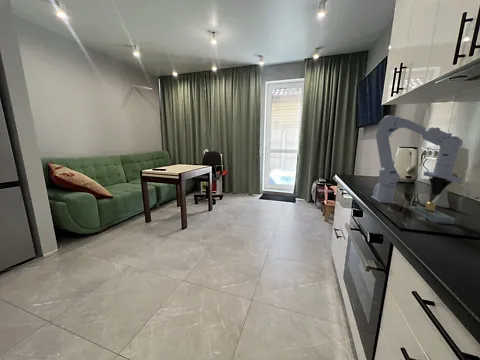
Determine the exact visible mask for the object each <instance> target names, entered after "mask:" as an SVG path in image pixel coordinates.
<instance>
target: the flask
mask: <svg viewBox="0 0 480 360" xmlns="http://www.w3.org/2000/svg"><path fill="white" fill-rule="evenodd" d="M449 190H450V187H449V186H446V187H445V188H444V189H443V191H442V192H441V193H440V195H436V196H435V198H434V199H432V201H431V202H433V203H436V206H435V207H440V208H448V209H449V208H450V205H449V198H448V191H449Z"/></svg>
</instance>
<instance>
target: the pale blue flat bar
mask: <svg viewBox="0 0 480 360" xmlns="http://www.w3.org/2000/svg"><path fill="white" fill-rule="evenodd" d="M406 209H407V210H409V211H411V212H414V213H416V214H418V215H419V216H422V217H423V218H425V219H428V220H430V221H431V222H434V223H436V224H437V223H440V224H448V225H449V224H451V225H454V222H455V219H456V218H455V217H453V216H450V215H448V214H446V213H443V212H441V211H439V210H437V209H435V210H434V212H428V211H426V210H425V207H423V206H416V205H415V206H413V205H407V208H406Z"/></svg>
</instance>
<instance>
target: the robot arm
mask: <svg viewBox="0 0 480 360" xmlns="http://www.w3.org/2000/svg"><path fill="white" fill-rule="evenodd" d="M404 128H405V129H408V130H409V131H411V132H415V133H417V134H420V135H421V138H422V140H425V141H427V142H428V143H431V144H434V146H435V145H436V146H438V147H440V149H439V153H438V155H437V159H436V162H435V164H434V165H435V166H434V169H433V171H423V176H424V177H430V178H429V182H430V184H431V194H432V195H433V196H437V195H440V193H441V192H442V191H443V189H444V188H445V187H448V186H449V185H450V184H452V183H454V184H461V183H462V179H463V178H461V177H457V176H453V175H452V174H453V170H454V167H455V164H456V161H457V158H458V154H459V149H460V148H462V147H463V140H462V138H460V137H459V136H456V135H455V136H452V135H453V133H451V132H446V131H443V130H441V128H440V127H430V128H427V127H426V126H423V125H421V124H419V123H416V122H414V121H412V120H411V119H408V118H403V117H400V116H394V115H392V114H388V115H385V116H384V117H383V118H382V119H381V120H380V121H379V122H378V128H377V130H376V133H375V139H376V146H377V151H378V156H379V157H378V158H379V163H380V169H379V171H378V172H379V175H378V178H377V180H378V182H377V183H376V184H375V185H374V188H373V193H372V195H371V196H370V198H372V199H374V200H375V201H378V202H379V203H384V204H395V205H396V204H397V202H395V201H393V199H394V195H395V191H396V189H397V188H396V187H397V183H398V182H399V181H400V179H401V177H400V174H399V173H398V172H397V169H396V167H395V166H394V162H393V161H394V160H393V154H392V151H391V150H392V149H391V142H390V139H389V138H390V136H391V135H392V133H394V132H395V131H396V130H398V129H404Z"/></svg>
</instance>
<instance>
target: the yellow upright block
mask: <svg viewBox="0 0 480 360" xmlns="http://www.w3.org/2000/svg"><path fill="white" fill-rule="evenodd" d="M436 207H437V206H436V203H433V202H432V201H426V204H425V207H424V208H425V210H426V211H428V212H434V210H436Z"/></svg>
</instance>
